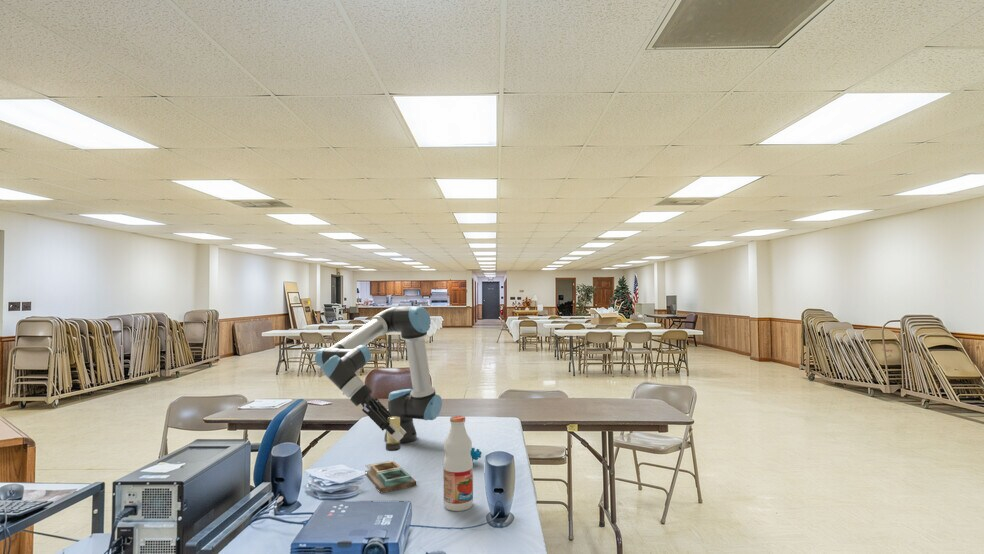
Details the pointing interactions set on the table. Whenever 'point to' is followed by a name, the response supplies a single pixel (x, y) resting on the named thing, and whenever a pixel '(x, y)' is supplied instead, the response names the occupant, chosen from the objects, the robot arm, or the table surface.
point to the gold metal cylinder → (391, 442)
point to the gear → (475, 454)
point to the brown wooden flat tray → (389, 476)
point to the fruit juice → (458, 467)
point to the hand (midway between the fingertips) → (402, 437)
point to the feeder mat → (372, 464)
